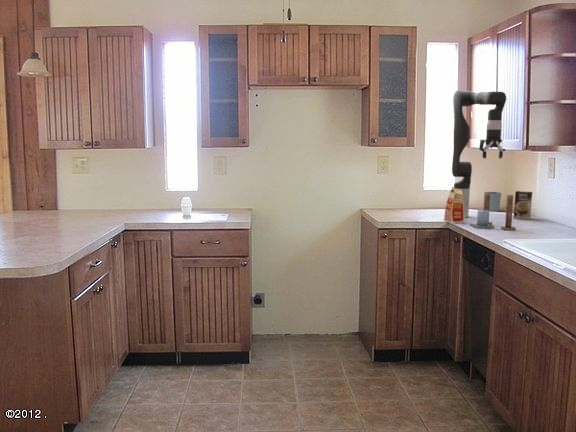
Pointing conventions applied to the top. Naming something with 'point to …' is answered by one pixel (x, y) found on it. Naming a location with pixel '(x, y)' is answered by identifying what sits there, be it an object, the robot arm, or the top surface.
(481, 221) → the pale blue egg shape
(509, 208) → the post
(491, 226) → the mat
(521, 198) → the coffee box
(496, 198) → the drinking glass
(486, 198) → the post
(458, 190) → the milk carton
